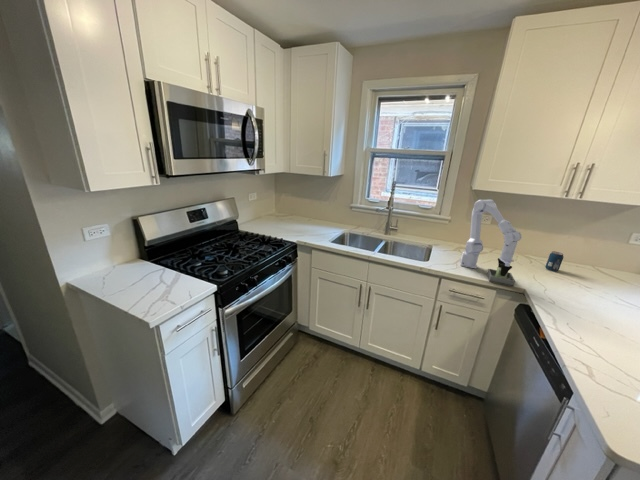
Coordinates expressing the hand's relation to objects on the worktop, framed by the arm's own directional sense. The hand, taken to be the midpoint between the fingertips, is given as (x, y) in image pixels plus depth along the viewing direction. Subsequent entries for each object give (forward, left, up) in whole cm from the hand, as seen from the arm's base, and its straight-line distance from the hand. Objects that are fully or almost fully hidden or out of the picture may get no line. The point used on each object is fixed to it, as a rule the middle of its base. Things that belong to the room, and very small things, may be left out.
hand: (501, 273), depth 156 cm
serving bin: (0, 0, -4) cm, 4 cm away
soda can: (+35, +36, -5) cm, 51 cm away
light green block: (0, 0, -3) cm, 3 cm away
